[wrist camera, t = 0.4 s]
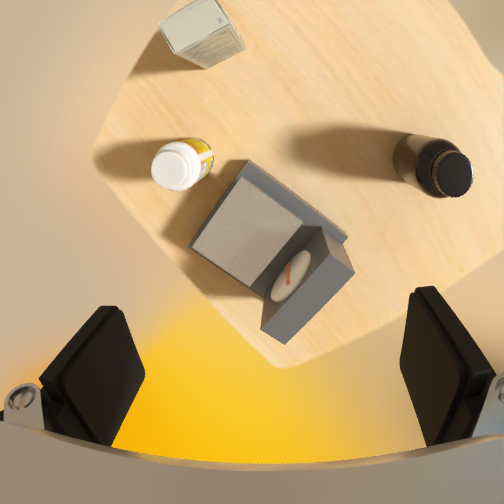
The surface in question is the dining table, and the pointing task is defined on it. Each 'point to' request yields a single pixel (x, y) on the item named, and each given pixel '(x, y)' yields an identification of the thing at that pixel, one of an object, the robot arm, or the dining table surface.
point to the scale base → (295, 261)
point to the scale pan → (247, 231)
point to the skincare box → (202, 33)
